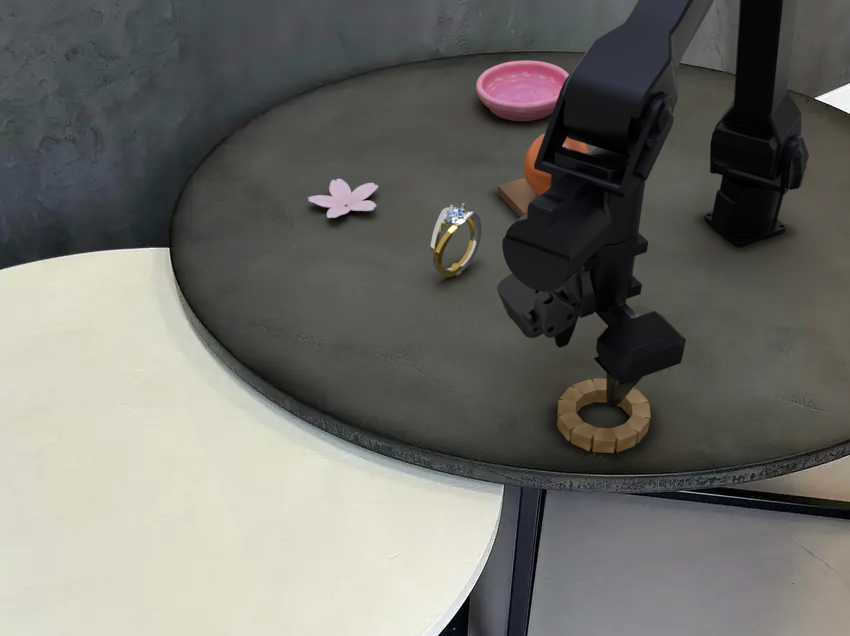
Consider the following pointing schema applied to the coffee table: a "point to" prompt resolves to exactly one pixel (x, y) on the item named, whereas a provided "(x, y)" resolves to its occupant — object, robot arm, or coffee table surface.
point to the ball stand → (532, 178)
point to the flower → (345, 198)
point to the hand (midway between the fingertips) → (586, 374)
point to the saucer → (521, 89)
